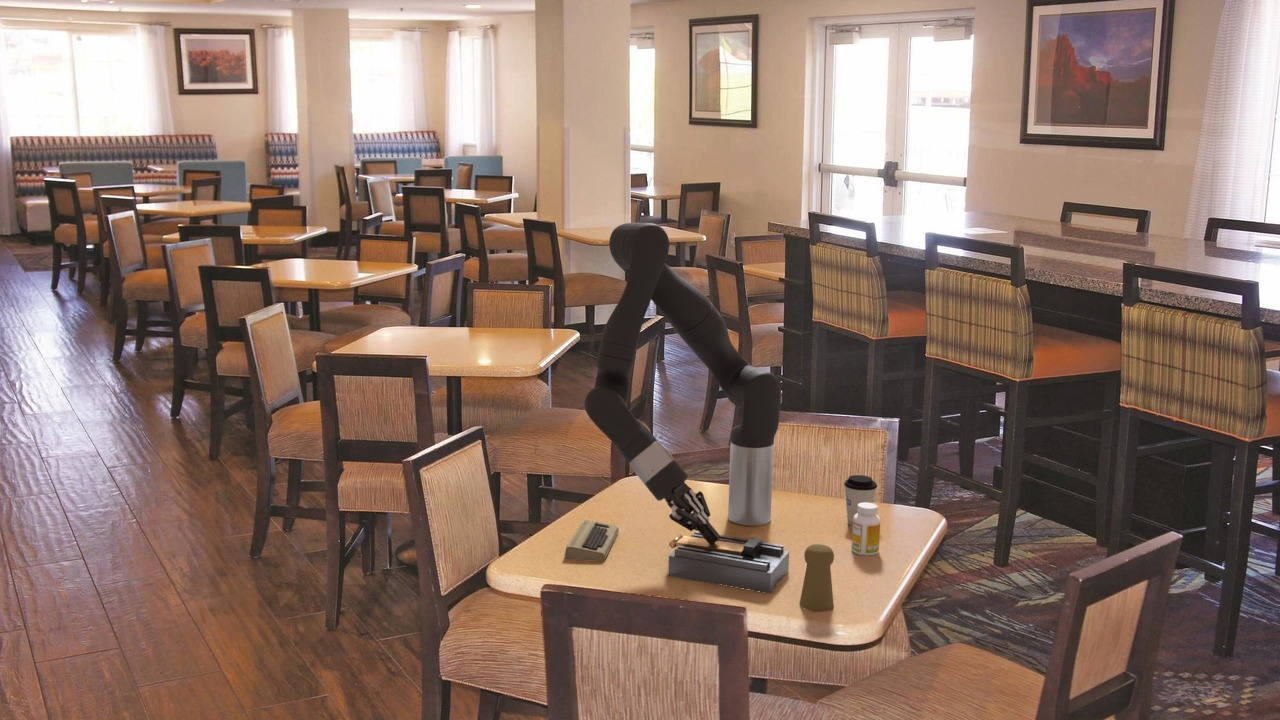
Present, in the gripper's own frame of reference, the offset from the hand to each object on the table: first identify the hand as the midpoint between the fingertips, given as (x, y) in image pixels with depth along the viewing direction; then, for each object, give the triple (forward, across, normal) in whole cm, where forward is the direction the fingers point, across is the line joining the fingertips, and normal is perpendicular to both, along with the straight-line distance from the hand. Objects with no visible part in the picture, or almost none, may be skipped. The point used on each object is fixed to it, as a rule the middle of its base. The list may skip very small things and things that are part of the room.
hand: (715, 541), depth 223 cm
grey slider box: (+6, 0, +2) cm, 7 cm away
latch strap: (0, 0, +2) cm, 2 cm away
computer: (-14, +2, +24) cm, 28 cm away
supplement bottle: (+21, +23, -13) cm, 34 cm away
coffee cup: (+17, +39, -9) cm, 44 cm away
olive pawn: (+20, -7, -11) cm, 24 cm away
